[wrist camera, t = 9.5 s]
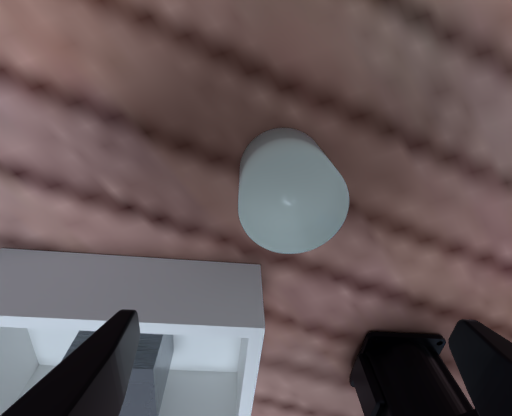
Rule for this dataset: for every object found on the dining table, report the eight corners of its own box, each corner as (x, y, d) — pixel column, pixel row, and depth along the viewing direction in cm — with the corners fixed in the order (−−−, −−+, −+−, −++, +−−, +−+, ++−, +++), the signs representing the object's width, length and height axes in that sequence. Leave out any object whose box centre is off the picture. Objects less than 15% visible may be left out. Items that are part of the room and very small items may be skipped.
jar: (331, 132, 17) (361, 159, 13) (314, 210, 20) (335, 257, 15) (243, 123, 17) (242, 149, 12) (236, 204, 19) (234, 250, 15)
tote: (260, 264, 21) (265, 328, 16) (246, 367, 26) (246, 440, 21) (1, 248, 20) (-78, 312, 15) (38, 360, 25) (-13, 435, 20)
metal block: (172, 302, 21) (153, 369, 17) (173, 351, 23) (157, 421, 19) (98, 299, 21) (58, 366, 16) (106, 348, 23) (73, 419, 19)
